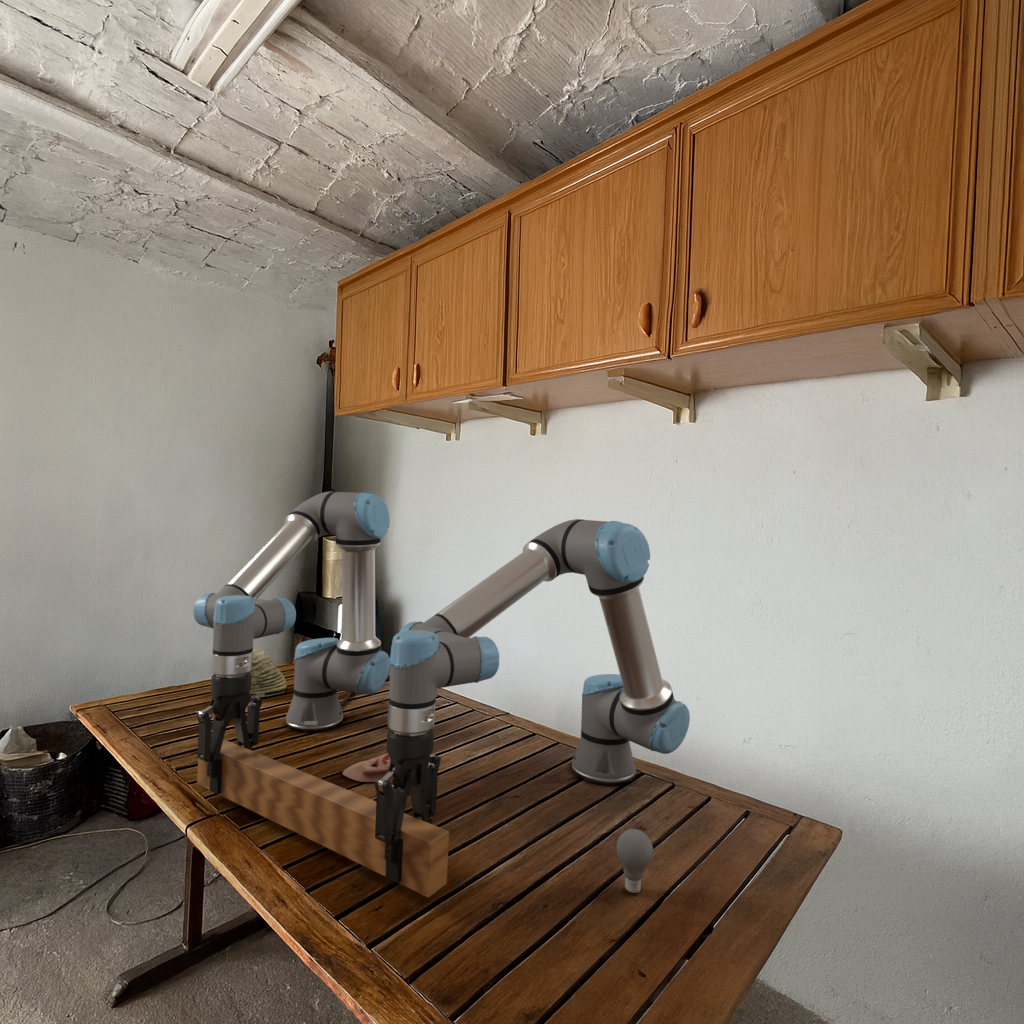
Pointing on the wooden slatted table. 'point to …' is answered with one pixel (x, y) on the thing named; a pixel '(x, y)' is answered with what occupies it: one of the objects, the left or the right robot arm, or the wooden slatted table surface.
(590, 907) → the wooden slatted table surface
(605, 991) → the wooden slatted table surface
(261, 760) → the beam
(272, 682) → the fossil
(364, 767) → the anatomical model
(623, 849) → the light bulb
